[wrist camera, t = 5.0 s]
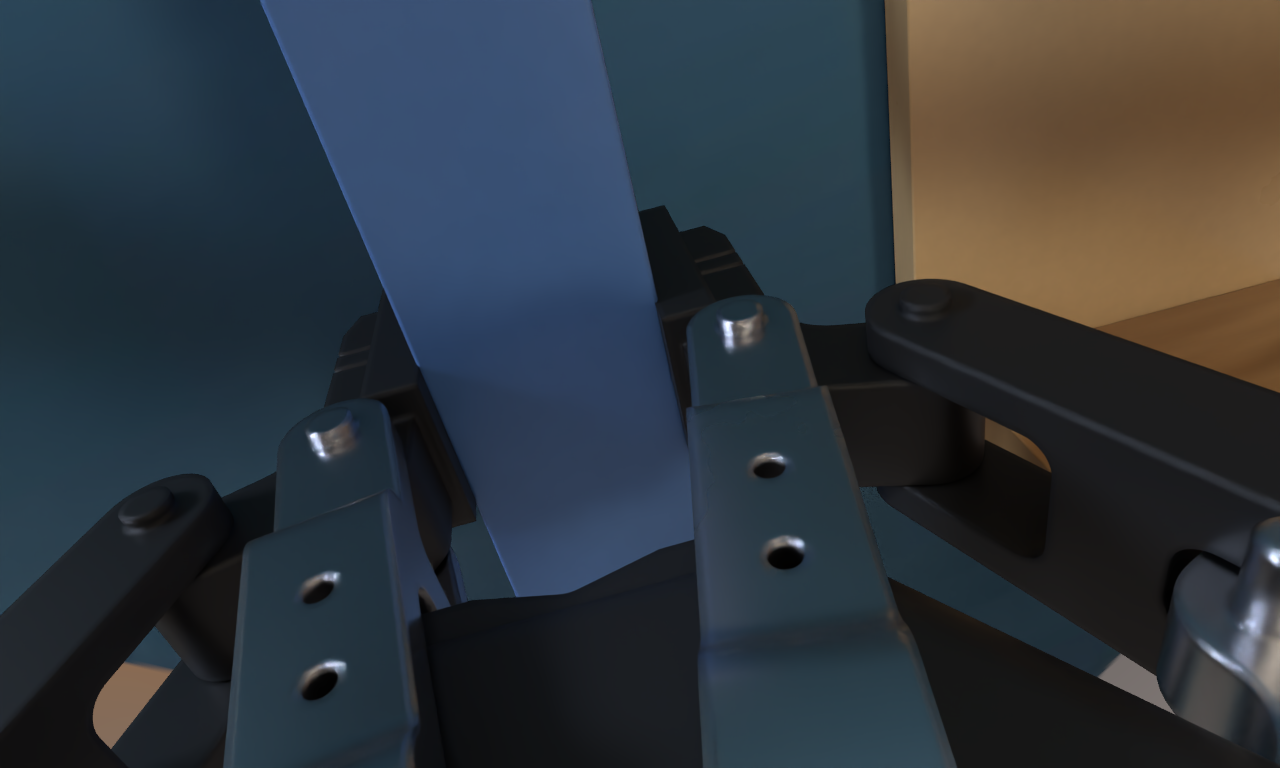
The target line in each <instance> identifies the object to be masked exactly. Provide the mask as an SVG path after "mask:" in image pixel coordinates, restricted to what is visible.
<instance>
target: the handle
mask: <svg viewBox="0 0 1280 768" xmlns="http://www.w3.org/2000/svg"><path fill="white" fill-rule="evenodd" d="M260 2H261V4H262V6H263V9H264V11H265V13H266V16H267V18H268V20H269V23H270V25H271V27H272V30H273V32H274V34H275V37H276V39H277V41H278V44H279V46H280V48H281V51H282V53H283V55H284V58H285V60H286V62H287V65H288V67H289V69H290V72H291V74H292V76H293V79H294V81H295V83H296V86H297V88H298V90H299V93H300V95H301V97H302V99H303V102H304V104H305V106H306V109H307V111H308V113H309V116H310V118H311V120H312V123H313V125H314V127H315V130H316V132H317V134H318V137H319V139H320V141H321V144H322V146H323V148H324V151H325V153H326V155H327V158H328V160H329V162H330V165H331V167H332V169H333V172H334V174H335V176H336V179H337V181H338V183H339V186H340V188H341V190H342V193H343V195H344V197H345V199H346V202H347V204H348V206H349V209H350V211H351V213H352V216H353V218H354V220H355V223H356V225H357V227H358V230H359V232H360V234H361V237H362V239H363V241H364V244H365V246H366V248H367V251H368V253H369V255H370V258H371V260H372V262H373V265H374V267H375V269H376V272H377V274H378V276H379V279H380V281H381V283H382V286H383V288H384V290H385V293H386V295H387V297H388V299H389V302H390V304H391V306H392V309H393V311H394V313H395V316H396V318H397V320H398V323H399V325H400V327H401V330H402V332H403V334H404V337H405V339H406V341H407V344H408V346H409V348H410V351H411V353H412V355H413V358H414V360H415V362H416V364H417V366H419V368H420V370H421V373H422V375H423V377H424V380H425V382H426V384H427V387H428V389H429V391H430V394H431V396H432V398H433V401H434V403H435V405H436V408H437V410H438V412H439V415H440V417H441V419H442V422H443V424H444V426H445V429H446V431H447V433H448V436H449V438H450V441H451V443H452V445H453V448H454V450H455V452H456V455H457V457H458V459H459V462H460V464H461V466H462V469H463V471H464V473H465V476H466V478H467V480H468V483H469V485H470V487H471V490H472V492H473V494H474V497H475V499H476V504H477V506H478V509H479V511H480V513H481V516H482V518H483V520H484V523H485V525H486V527H487V530H488V532H489V534H490V537H491V539H492V541H493V544H494V546H495V548H496V551H497V553H498V555H499V558H500V560H501V562H502V565H503V567H504V569H505V572H506V574H507V576H508V579H509V581H510V583H511V586H512V588H513V590H514V592H515V595H516V597H528V596H543V595H557V594H565V593H569V592H572V591H575V590H577V589H579V588H581V587H583V586H585V585H587V584H589V583H591V582H593V581H596V580H598V579H600V578H602V577H604V576H606V575H608V574H610V573H612V572H614V571H616V570H618V569H620V568H622V567H624V566H626V565H628V564H630V563H632V562H634V561H636V560H638V559H640V558H642V557H644V556H646V555H648V554H650V553H652V552H654V551H656V550H658V549H661V548H665V547H668V546H672V545H676V544H679V543H683V542H687V541H690V540H694V526H693V510H692V495H691V479H690V464H689V449H688V447H687V444H686V439H685V435H684V431H683V426H682V422H681V417H680V413H679V408H678V404H677V399H676V395H675V390H674V386H673V381H672V377H671V372H670V368H669V364H668V359H667V355H666V350H665V346H664V341H663V337H662V332H661V328H660V323H659V319H658V314H657V310H656V305H655V303H656V302H657V301H658V298H657V293H656V289H655V284H654V280H653V275H652V271H651V267H650V262H649V258H648V253H647V249H646V244H645V240H644V235H643V231H642V226H641V222H640V217H639V213H638V208H637V204H636V199H635V195H634V190H633V186H632V181H631V177H630V172H629V168H628V163H627V159H626V154H625V150H624V145H623V141H622V136H621V132H620V127H619V123H618V118H617V114H616V109H615V105H614V100H613V96H612V91H611V87H610V82H609V78H608V73H607V69H606V64H605V60H604V55H603V51H602V46H601V42H600V37H599V33H598V28H597V24H596V19H595V15H594V10H593V6H592V1H591V0H260Z"/></svg>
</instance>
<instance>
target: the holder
mask: <svg viewBox="0 0 1280 768" xmlns="http://www.w3.org/2000/svg"><path fill="white" fill-rule="evenodd" d="M885 22H886V47H887V72H888V98H889V123H890V149H891V174H892V200H893V225H894V251H895V276H896V284H897V283H901V282H905V281H910V280H917V279H947V280H952V281H957V282H961V283H964V284H968V285H970V286H973V287H976V288H979V289H982V290H985V291H988V292H991V293H993V294H996V295H999V296H1002V297H1005V298H1008V299H1011V300H1014V301H1017V302H1019V303H1022V304H1025V305H1028V306H1031V307H1034V308H1037V309H1040V310H1042V311H1045V312H1048V313H1051V314H1054V315H1057V316H1060V317H1063V318H1066V319H1068V320H1071V321H1074V322H1077V323H1080V324H1083V325H1086V326H1089V327H1092V328H1094V329H1097V330H1100V331H1103V332H1106V333H1109V334H1112V335H1115V336H1117V337H1120V338H1123V339H1126V340H1129V341H1132V342H1135V343H1138V344H1141V345H1143V346H1146V347H1149V348H1152V349H1155V350H1158V351H1161V352H1164V353H1166V354H1169V355H1172V356H1175V357H1178V358H1181V359H1184V360H1187V361H1190V362H1192V363H1195V364H1198V365H1201V366H1204V367H1207V368H1210V369H1213V370H1216V371H1218V372H1221V373H1224V374H1227V375H1230V376H1233V377H1236V378H1239V379H1241V380H1244V381H1247V382H1250V383H1253V384H1256V385H1259V386H1262V387H1265V388H1267V389H1270V390H1273V391H1276V392H1279V393H1280V0H885ZM985 440H987V441H989V442H991V443H993V444H995V445H997V446H999V447H1001V448H1003V449H1005V450H1007V451H1009V452H1011V453H1013V454H1015V455H1017V456H1019V457H1021V458H1023V459H1025V460H1027V461H1029V462H1031V463H1033V464H1035V465H1037V466H1039V467H1041V468H1043V469H1045V470H1047V471H1049V472H1051V468H1050V465H1049V463H1048V461H1047V459H1046V457H1045V455H1044V454H1043V453H1042V451H1041V450H1040V449H1039V448H1038V447H1037V446H1036V445H1035V444H1034V443H1033V442H1032V441H1031V440H1029V439H1028V438H1026V437H1024V436H1023V435H1021V434H1019V433H1017V432H1015V431H1012V430H1010V429H1008V428H1006V427H1004V426H1002V425H1000V424H998V423H996V422H994V421H992V420H990V419H988V418H985Z"/></svg>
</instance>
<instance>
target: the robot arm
mask: <svg viewBox="0 0 1280 768" xmlns="http://www.w3.org/2000/svg"><path fill="white" fill-rule="evenodd" d="M638 213H639V217H640V222H641V226H642V231H643V235H644V240H645V244H646V249H647V253H648V258H649V262H650V267H651V271H652V275H653V280H654V284H655V289H656V293H657V298H658V301H657V302H656V303H655V305H656V310H657V314H658V319H659V323H660V328H661V332H662V337H663V341H664V346H665V350H666V355H667V359H668V364H669V368H670V372H671V377H672V381H673V386H674V390H675V395H676V399H677V404H678V408H679V413H680V417H681V422H682V426H683V431H684V435H685V439H686V444H687V447H688V449H689V464H690V479H691V495H692V510H693V526H694V540H690V541H687V542H683V543H679V544H676V545H672V546H668V547H665V548H661V549H658V550H656V551H654V552H652V553H650V554H648V555H646V556H644V557H642V558H640V559H638V560H636V561H634V562H632V563H630V564H628V565H626V566H624V567H622V568H620V569H618V570H616V571H614V572H612V573H610V574H608V575H606V576H604V577H602V578H600V579H598V580H596V581H593V582H591V583H589V584H587V585H585V586H583V587H581V588H579V589H577V590H575V591H572V592H569V593H565V594H557V595H543V596H528V597H513V598H499V599H484V600H472V601H468V599H467V595H466V591H465V587H464V582H463V578H462V574H461V570H460V565H459V562H458V560H457V558H456V555H455V553H454V551H453V549H452V547H451V533H452V528H453V527H456V526H460V525H464V524H467V523H471V522H475V521H476V499H475V497H474V494H473V492H472V490H471V487H470V485H469V483H468V480H467V478H466V476H465V473H464V471H463V469H462V466H461V464H460V462H459V459H458V457H457V455H456V452H455V450H454V448H453V445H452V443H451V441H450V438H449V436H448V433H447V431H446V429H445V426H444V424H443V422H442V419H441V417H440V415H439V412H438V410H437V408H436V405H435V403H434V401H433V398H432V396H431V394H430V391H429V389H428V387H427V384H426V382H425V380H424V377H423V375H422V373H421V370H420V368H419V366H417V364H416V362H415V360H414V358H413V355H412V353H411V351H410V348H409V346H408V344H407V341H406V339H405V337H404V334H403V332H402V330H401V327H400V325H399V323H398V320H397V318H396V316H395V313H394V311H393V309H392V306H391V304H390V302H389V299H388V297H387V295H386V293H385V290H384V288H383V290H382V295H381V300H380V304H379V309H378V312H375V313H372V314H368V315H364V316H361V317H360V318H359V319H358V320H357V321H356V323H355V324H354V325H353V326H352V327H351V328H350V329H349V330H348V332H347V333H346V334H345V335H344V336H343V340H342V343H341V347H340V351H339V358H337V362H336V365H335V369H334V370H335V373H333V376H332V380H331V383H330V387H329V391H328V394H327V398H326V402H325V405H324V408H322V409H320V410H318V411H315V412H314V413H312V414H310V415H309V416H307V417H305V418H304V419H302V420H301V421H300V422H298V423H297V424H296V425H295V426H294V427H292V428H291V429H290V430H289V431H288V433H287V434H286V435H285V436H284V438H283V439H282V440H281V442H280V445H279V447H278V452H277V471H276V472H275V473H273V474H271V475H269V476H267V477H265V478H263V479H261V480H259V481H257V482H255V483H252V484H250V485H248V486H246V487H244V488H242V489H240V490H237V491H235V492H233V493H231V494H229V495H227V496H224V497H222V498H221V497H220V495H219V494H218V492H217V491H216V489H215V488H214V486H213V485H212V483H211V482H210V480H209V479H208V478H206V477H205V476H202V475H199V474H181V475H176V476H172V477H168V478H164V479H162V480H159V481H156V482H154V483H152V484H149V485H147V486H145V487H143V488H141V489H139V490H138V491H136V492H134V493H132V494H131V495H129V496H128V497H126V498H125V499H123V500H122V501H121V502H119V503H118V504H117V505H115V506H114V507H113V508H112V509H111V510H110V511H108V512H107V513H106V514H105V515H104V516H103V517H102V518H101V519H100V520H99V521H98V522H97V523H96V524H95V525H94V526H93V527H92V528H91V529H90V530H89V531H88V532H87V533H86V534H84V535H83V536H82V537H81V538H80V539H79V540H78V541H77V542H76V543H75V544H74V545H73V546H72V547H71V548H70V549H69V550H68V551H67V552H66V553H65V554H64V555H63V556H62V557H61V558H60V559H59V560H58V561H57V562H55V563H54V564H53V565H52V566H51V567H50V568H49V569H48V570H47V571H46V572H45V573H44V574H43V575H42V576H41V577H40V578H39V579H38V580H37V581H36V582H35V583H34V584H33V585H32V586H31V587H30V588H29V589H28V590H26V591H25V592H24V593H23V594H22V595H21V596H20V597H19V598H18V599H17V600H16V601H15V602H14V603H13V604H12V605H11V606H10V607H9V608H8V609H7V610H6V611H5V612H4V613H3V614H2V615H1V616H0V768H1280V393H1279V392H1276V391H1273V390H1270V389H1267V388H1265V387H1262V386H1259V385H1256V384H1253V383H1250V382H1247V381H1244V380H1241V379H1239V378H1236V377H1233V376H1230V375H1227V374H1224V373H1221V372H1218V371H1216V370H1213V369H1210V368H1207V367H1204V366H1201V365H1198V364H1195V363H1192V362H1190V361H1187V360H1184V359H1181V358H1178V357H1175V356H1172V355H1169V354H1166V353H1164V352H1161V351H1158V350H1155V349H1152V348H1149V347H1146V346H1143V345H1141V344H1138V343H1135V342H1132V341H1129V340H1126V339H1123V338H1120V337H1117V336H1115V335H1112V334H1109V333H1106V332H1103V331H1100V330H1097V329H1094V328H1092V327H1089V326H1086V325H1083V324H1080V323H1077V322H1074V321H1071V320H1068V319H1066V318H1063V317H1060V316H1057V315H1054V314H1051V313H1048V312H1045V311H1042V310H1040V309H1037V308H1034V307H1031V306H1028V305H1025V304H1022V303H1019V302H1017V301H1014V300H1011V299H1008V298H1005V297H1002V296H999V295H996V294H993V293H991V292H988V291H985V290H982V289H979V288H976V287H973V286H970V285H968V284H964V283H961V282H957V281H952V280H947V279H917V280H910V281H905V282H901V283H897V284H895V285H892V286H889V287H887V288H885V289H883V290H881V291H879V292H878V293H876V294H875V295H874V296H873V297H872V298H871V299H870V300H869V302H868V303H867V305H866V308H865V318H866V323H858V324H845V325H829V326H822V325H810V324H803V323H799V320H798V317H797V314H796V311H795V309H794V308H793V307H792V306H791V305H790V304H789V303H787V302H786V301H784V300H782V299H779V298H776V297H772V296H766V295H764V293H763V292H762V290H761V289H760V287H759V286H758V284H757V283H756V281H755V280H754V278H753V277H752V275H751V274H750V272H749V271H748V269H747V268H746V266H745V265H743V262H742V260H741V258H740V257H739V255H738V254H737V252H736V253H735V249H734V248H733V246H732V245H731V243H730V242H729V240H728V239H727V237H726V236H725V235H724V234H722V233H719V232H717V231H715V230H712V229H710V228H708V227H706V226H702V227H698V228H694V229H690V230H686V231H683V232H679V231H678V229H677V227H676V225H675V224H674V222H673V220H672V218H671V216H670V214H669V212H668V211H667V209H666V207H665V206H664V205H663V206H659V207H655V208H651V209H647V210H644V211H640V212H638ZM985 418H988V419H990V420H992V421H994V422H996V423H998V424H1000V425H1002V426H1004V427H1006V428H1008V429H1010V430H1012V431H1015V432H1017V433H1019V434H1021V435H1023V436H1024V437H1026V438H1028V439H1029V440H1031V441H1032V442H1033V443H1034V444H1035V445H1036V446H1037V447H1038V448H1039V449H1040V450H1041V451H1042V453H1043V454H1044V455H1045V457H1046V459H1047V461H1048V463H1049V465H1050V468H1051V472H1049V471H1047V470H1045V469H1043V468H1041V467H1039V466H1037V465H1035V464H1033V463H1031V462H1029V461H1027V460H1025V459H1023V458H1021V457H1019V456H1017V455H1015V454H1013V453H1011V452H1009V451H1007V450H1005V449H1003V448H1001V447H999V446H997V445H995V444H993V443H991V442H989V441H987V440H985ZM874 486H876V487H877V491H878V493H879V494H880V496H881V497H882V498H883V500H884V501H885V502H886V503H888V504H889V505H890V506H892V507H893V508H895V509H896V510H898V511H899V512H901V513H902V514H904V515H906V516H907V517H909V518H910V519H912V520H913V521H915V522H916V523H918V524H920V525H921V526H923V527H924V528H926V529H927V530H929V531H931V532H932V533H934V534H935V535H937V536H938V537H940V538H941V539H943V540H945V541H946V542H948V543H949V544H951V545H952V546H954V547H956V548H957V549H959V550H960V551H962V552H963V553H965V554H966V555H968V556H970V557H971V558H973V559H974V560H976V561H977V562H979V563H981V564H982V565H984V566H985V567H987V568H988V569H990V570H991V571H993V572H995V573H996V574H998V575H999V576H1001V577H1002V578H1004V579H1006V580H1007V581H1009V582H1010V583H1012V584H1013V585H1015V586H1016V587H1018V588H1020V589H1021V590H1023V591H1024V592H1026V593H1027V594H1029V595H1030V596H1032V597H1034V598H1035V599H1037V600H1038V601H1040V602H1041V603H1043V604H1045V605H1046V606H1048V607H1049V608H1051V609H1052V610H1054V611H1055V612H1057V613H1059V614H1060V615H1062V616H1063V617H1065V618H1066V619H1068V620H1070V621H1071V622H1073V623H1074V624H1076V625H1077V626H1079V627H1080V628H1082V629H1084V630H1085V631H1087V632H1088V633H1090V634H1091V635H1093V636H1095V637H1096V638H1098V639H1099V640H1101V641H1102V642H1104V643H1105V644H1107V645H1109V646H1110V647H1112V648H1113V649H1115V650H1116V651H1118V652H1120V653H1121V654H1123V655H1124V656H1126V657H1127V658H1129V659H1130V660H1132V661H1134V662H1135V663H1137V664H1138V665H1140V666H1142V667H1143V668H1145V669H1146V670H1148V671H1149V672H1151V673H1152V674H1154V675H1156V676H1157V681H1158V684H1159V688H1160V691H1161V693H1162V694H1163V697H1164V699H1165V701H1166V702H1167V704H1168V705H1169V706H1170V708H1171V709H1172V711H1173V712H1174V713H1175V714H1176V715H1174V714H1172V713H1170V712H1168V711H1166V710H1164V709H1161V708H1160V707H1158V706H1156V705H1154V704H1151V703H1149V702H1147V701H1145V700H1143V699H1141V698H1139V697H1137V696H1135V695H1132V694H1131V693H1129V692H1126V691H1124V690H1122V689H1120V688H1118V687H1116V686H1114V685H1112V684H1110V683H1108V682H1106V681H1103V680H1101V679H1099V678H1097V677H1095V676H1093V675H1091V674H1089V673H1087V672H1085V671H1083V670H1081V669H1079V668H1076V667H1074V666H1072V665H1070V664H1068V663H1066V662H1064V661H1062V660H1060V659H1058V658H1056V657H1054V656H1051V655H1049V654H1047V653H1045V652H1043V651H1041V650H1039V649H1037V648H1035V647H1033V646H1031V645H1028V644H1026V643H1024V642H1022V641H1020V640H1018V639H1016V638H1014V637H1012V636H1010V635H1008V634H1006V633H1003V632H1001V631H999V630H997V629H995V628H993V627H991V626H989V625H987V624H985V623H983V622H981V621H978V620H976V619H974V618H972V617H970V616H968V615H966V614H964V613H962V612H960V611H958V610H956V609H953V608H951V607H949V606H947V605H945V604H943V603H941V602H939V601H937V600H935V599H933V598H930V597H928V596H926V595H924V594H922V593H920V592H918V591H916V590H914V589H912V588H910V587H908V586H905V585H903V584H901V583H899V582H897V581H895V580H893V579H891V578H889V577H887V573H886V570H885V567H884V564H883V561H882V558H881V554H880V551H879V548H878V545H877V542H876V538H875V535H874V532H873V529H872V526H871V523H870V519H869V516H868V513H867V510H866V507H865V504H864V500H863V497H862V494H861V491H860V488H859V487H874ZM154 626H155V627H156V628H157V629H158V630H159V632H160V633H161V634H162V635H163V636H164V638H165V639H166V640H167V641H168V643H169V644H170V645H171V646H172V648H173V649H174V650H175V651H176V652H177V654H178V655H179V656H180V657H181V659H182V660H181V661H180V662H179V663H178V665H177V666H176V667H175V669H174V670H173V671H172V672H171V674H170V675H169V676H168V678H167V679H166V680H165V681H164V682H163V684H162V685H161V686H160V688H159V689H158V690H157V692H156V693H155V694H154V695H153V696H152V698H151V699H150V700H149V702H148V703H147V704H146V705H145V707H144V708H143V709H142V710H141V712H140V713H139V714H138V716H137V717H136V718H135V719H134V721H133V722H132V723H131V725H130V726H129V727H128V728H127V730H126V731H125V732H124V733H123V735H122V736H121V737H120V738H119V740H118V741H117V742H116V744H115V745H114V746H113V747H112V749H110V748H109V747H108V746H107V745H106V744H105V743H104V742H103V741H102V740H101V739H100V738H99V736H98V735H97V734H96V732H95V729H94V726H93V709H94V705H95V701H96V699H97V697H98V695H99V693H100V691H101V689H102V688H103V687H104V685H105V684H106V683H107V681H108V680H109V679H110V678H111V677H112V675H113V674H114V673H115V672H116V671H117V670H118V668H119V667H120V666H121V665H122V664H123V663H124V661H125V660H126V659H127V658H128V657H129V655H130V654H131V653H132V652H133V651H134V650H135V648H136V647H137V646H138V645H139V644H140V643H141V641H142V640H143V639H144V638H145V637H146V635H147V634H148V633H149V632H150V631H151V630H152V628H153V627H154Z"/></svg>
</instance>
